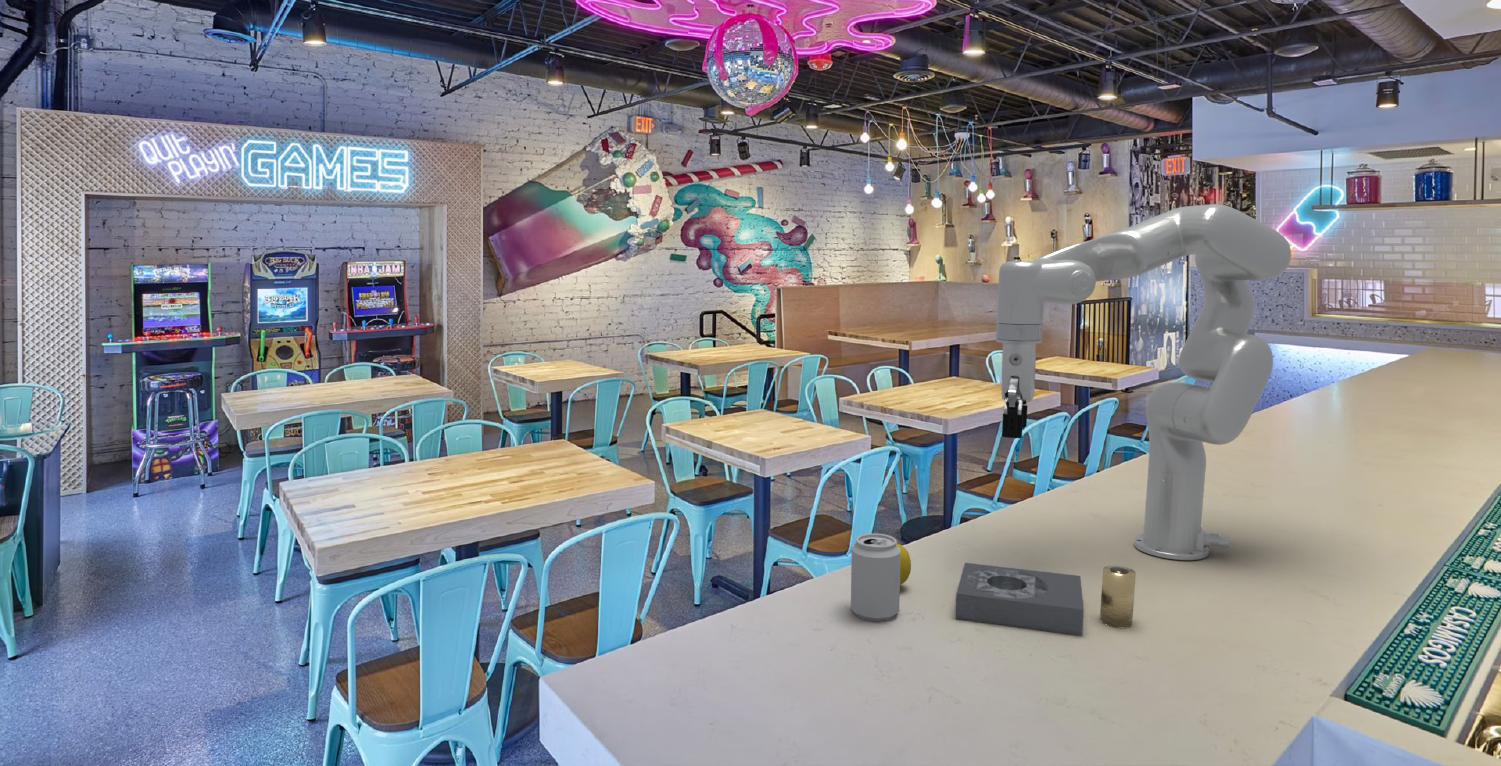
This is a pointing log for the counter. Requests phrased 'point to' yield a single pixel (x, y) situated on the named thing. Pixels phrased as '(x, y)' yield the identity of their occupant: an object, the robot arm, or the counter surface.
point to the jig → (1020, 598)
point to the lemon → (904, 564)
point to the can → (875, 577)
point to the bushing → (1117, 596)
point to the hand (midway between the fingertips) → (1014, 432)
